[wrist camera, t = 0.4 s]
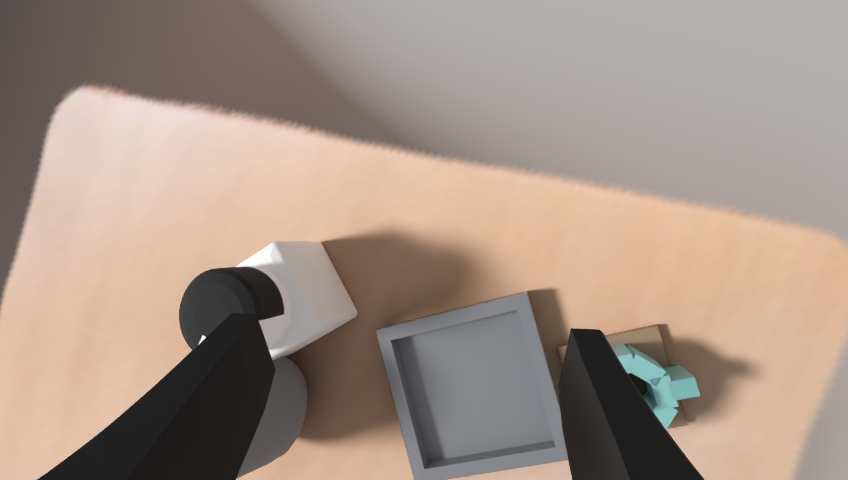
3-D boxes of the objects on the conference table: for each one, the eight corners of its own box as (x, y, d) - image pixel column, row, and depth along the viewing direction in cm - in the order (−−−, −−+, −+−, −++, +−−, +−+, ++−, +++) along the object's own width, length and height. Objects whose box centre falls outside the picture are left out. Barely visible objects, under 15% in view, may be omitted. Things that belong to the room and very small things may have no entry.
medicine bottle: (257, 280, 42) (146, 294, 30) (321, 240, 40) (230, 238, 29) (293, 353, 41) (193, 396, 29) (360, 314, 40) (283, 343, 28)
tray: (572, 448, 35) (573, 458, 34) (421, 473, 38) (415, 484, 36) (527, 290, 36) (526, 293, 34) (383, 326, 39) (375, 330, 37)
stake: (685, 421, 33) (707, 450, 29) (584, 439, 35) (590, 468, 30) (655, 324, 34) (673, 337, 29) (557, 345, 36) (559, 361, 31)
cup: (347, 397, 40) (283, 447, 30) (275, 466, 41) (192, 534, 32) (277, 312, 41) (195, 333, 32) (210, 381, 43) (113, 421, 33)
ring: (591, 431, 34) (596, 449, 31) (569, 354, 35) (572, 365, 32) (695, 413, 33) (711, 430, 30) (671, 333, 33) (684, 342, 30)
